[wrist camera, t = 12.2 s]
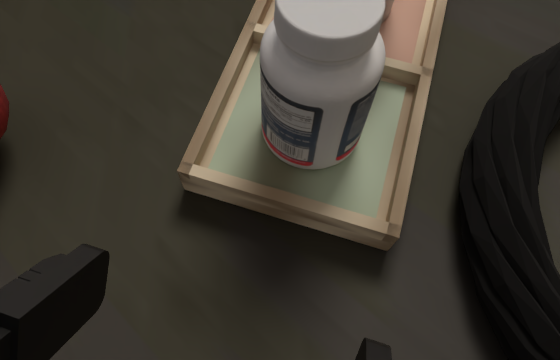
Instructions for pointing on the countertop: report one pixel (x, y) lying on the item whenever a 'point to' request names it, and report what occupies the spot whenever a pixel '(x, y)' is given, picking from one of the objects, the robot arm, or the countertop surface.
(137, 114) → the countertop surface
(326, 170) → the divided tray
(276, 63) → the pill bottle
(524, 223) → the cable lock
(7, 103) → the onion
